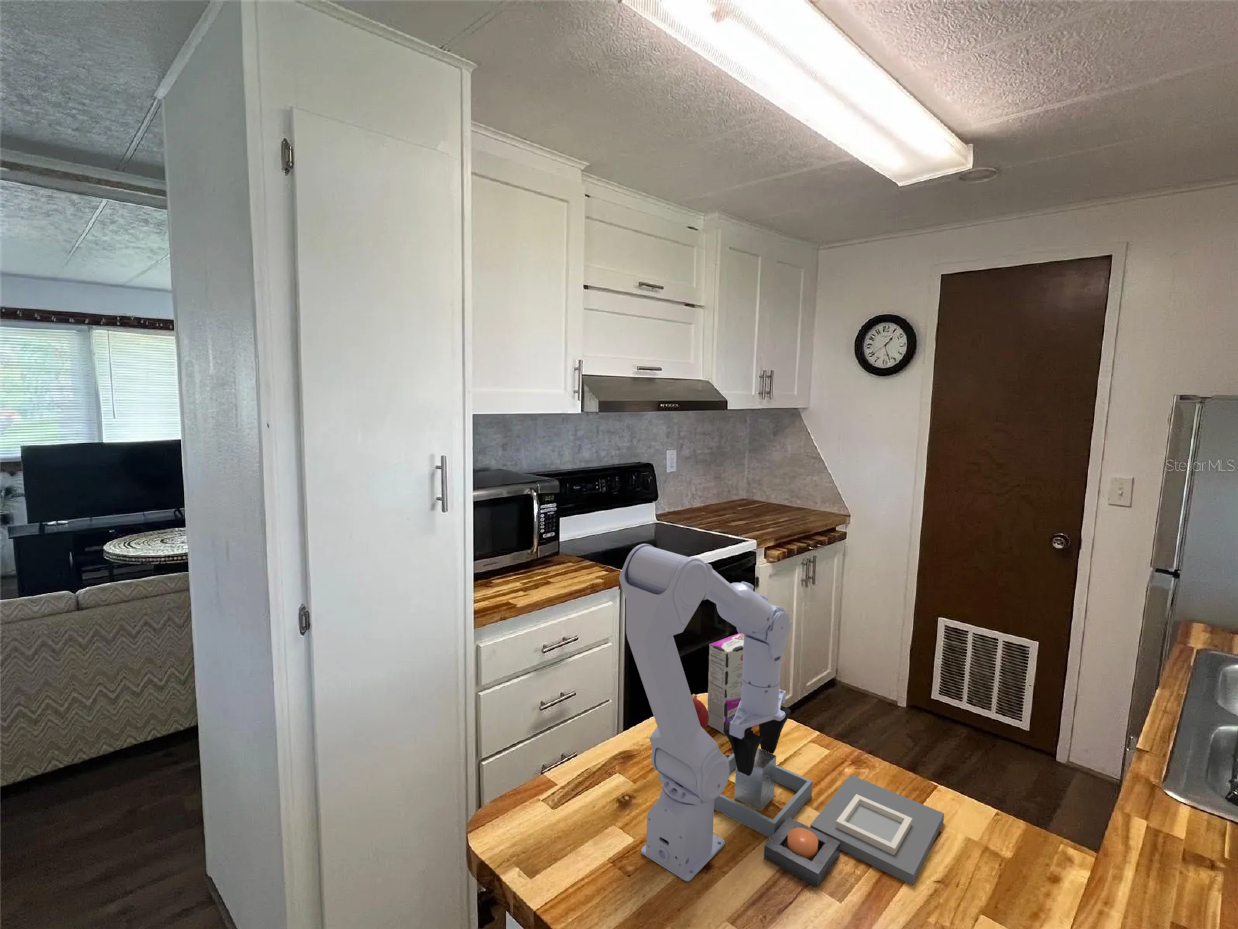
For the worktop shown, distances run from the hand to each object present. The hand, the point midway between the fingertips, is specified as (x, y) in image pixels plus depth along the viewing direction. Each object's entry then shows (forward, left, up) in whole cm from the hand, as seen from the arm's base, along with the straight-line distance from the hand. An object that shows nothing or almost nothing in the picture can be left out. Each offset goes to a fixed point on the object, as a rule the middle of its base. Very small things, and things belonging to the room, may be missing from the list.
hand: (756, 761), depth 98 cm
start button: (-7, -11, -6) cm, 14 cm away
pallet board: (+6, -17, -6) cm, 19 cm away
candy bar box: (+18, +14, -6) cm, 24 cm away
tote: (0, 0, -6) cm, 6 cm away
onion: (+8, +17, -6) cm, 20 cm away
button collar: (-7, -11, -6) cm, 14 cm away
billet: (0, 0, -6) cm, 6 cm away
